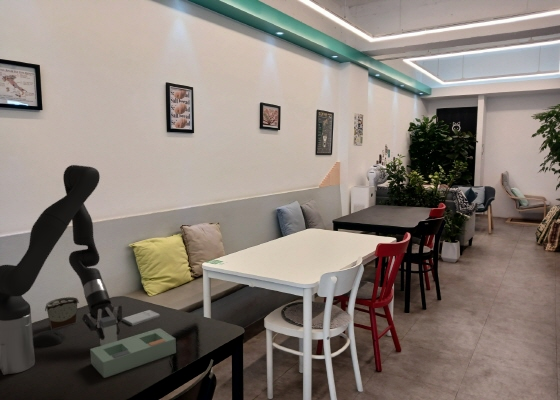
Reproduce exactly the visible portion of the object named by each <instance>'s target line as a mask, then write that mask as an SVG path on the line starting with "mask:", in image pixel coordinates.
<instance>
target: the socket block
mask: <svg viewBox="0 0 560 400" xmlns="http://www.w3.org/2000/svg"><path fill="white" fill-rule="evenodd" d="M176 343H177V342H176V337H174V336H172V335H170V334H169V333H167V331H164V330H163V329H162V328H160V327H158V328H155V329H151V330H149V331H145V332H143V333H139V334H135V335H132V336H130V337H126V338H122V339H120V340H117V341H115V342H112V343H109V344H105V345H102V346H101V345H99V346H96V347H93V348H90V349H89V351H90V353H89V354H90V364H91V365H92V366H93V368H94V369H95V370H96V371H97V372H98V373H99V374H100V375H101V376H102V377H103V378H104V379H105V378H108V377H111V376H114V375H117V374H119V373H123V372H126V371H128V370H131V369H135V368H136V367H139V366H140V367H141V366H142V365H145V364H149V363H151V362H153V361H157V360H160V359H162V358H165V357H168V356H171V355H173V354H177V344H176Z"/></svg>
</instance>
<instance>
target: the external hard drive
mask: <svg viewBox="0 0 560 400" xmlns="http://www.w3.org/2000/svg"><path fill="white" fill-rule="evenodd" d="M160 317H161V315H160V313H157V312H155V311H153V310H151V309H148V310H145V311H141V312H138V313H135V314H132V315H129V316H125V317H122V320H121V322H124V323H125V324H127V325H130V326H136V325H139V324H142V323H144V322H145V323H146V322H147V321H151V320H154V319H157V318H160Z"/></svg>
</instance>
